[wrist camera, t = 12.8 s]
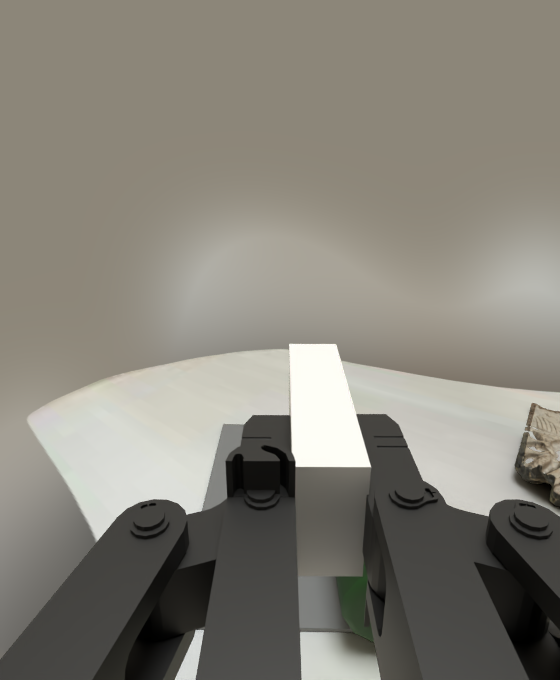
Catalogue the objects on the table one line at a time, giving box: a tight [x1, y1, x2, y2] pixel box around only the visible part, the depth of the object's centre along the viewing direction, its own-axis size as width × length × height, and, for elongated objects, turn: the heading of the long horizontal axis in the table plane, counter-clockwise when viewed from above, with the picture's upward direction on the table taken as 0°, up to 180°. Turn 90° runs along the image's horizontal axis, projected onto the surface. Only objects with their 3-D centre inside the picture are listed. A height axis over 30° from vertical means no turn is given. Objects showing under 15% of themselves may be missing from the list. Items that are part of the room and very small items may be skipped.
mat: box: [199, 424, 353, 632], centre depth 60 cm, size 36×22×1 cm, turn 179°
